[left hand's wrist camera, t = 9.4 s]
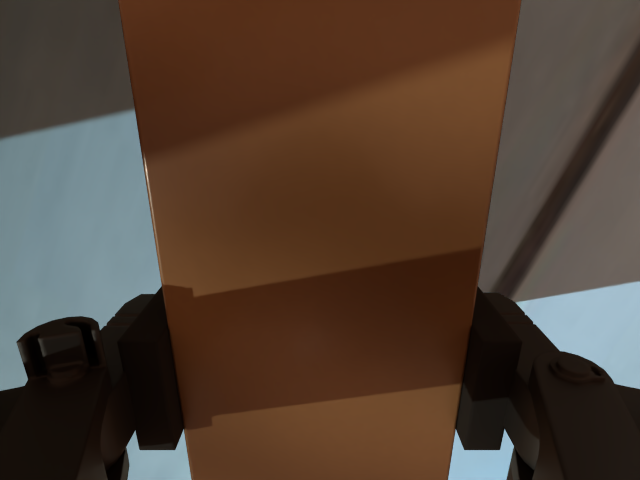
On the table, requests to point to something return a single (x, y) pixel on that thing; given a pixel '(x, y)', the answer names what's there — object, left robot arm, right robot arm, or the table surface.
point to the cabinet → (319, 222)
